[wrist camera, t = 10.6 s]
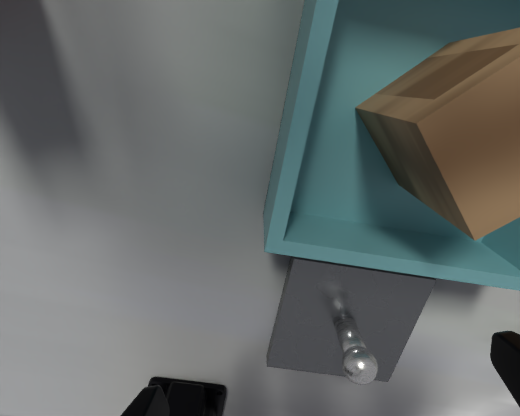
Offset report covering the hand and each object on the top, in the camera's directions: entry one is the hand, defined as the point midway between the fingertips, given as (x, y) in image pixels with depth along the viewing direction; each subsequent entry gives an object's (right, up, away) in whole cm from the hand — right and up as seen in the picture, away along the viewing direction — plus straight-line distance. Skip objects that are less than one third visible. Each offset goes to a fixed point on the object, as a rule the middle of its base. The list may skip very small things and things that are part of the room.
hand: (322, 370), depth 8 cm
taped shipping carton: (+7, +9, +9) cm, 15 cm away
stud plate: (+5, -4, +15) cm, 16 cm away
